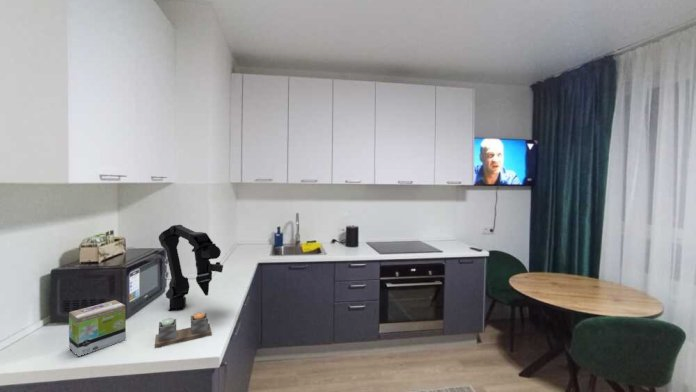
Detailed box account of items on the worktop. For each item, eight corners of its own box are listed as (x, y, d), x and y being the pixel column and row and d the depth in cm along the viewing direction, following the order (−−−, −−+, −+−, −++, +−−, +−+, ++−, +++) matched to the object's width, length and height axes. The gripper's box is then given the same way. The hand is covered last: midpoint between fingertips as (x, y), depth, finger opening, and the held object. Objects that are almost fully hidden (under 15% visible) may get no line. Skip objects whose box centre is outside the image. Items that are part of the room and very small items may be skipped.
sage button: (160, 328, 118) (159, 323, 118) (163, 323, 122) (163, 318, 122) (171, 327, 119) (171, 322, 119) (175, 322, 123) (174, 317, 123)
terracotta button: (192, 321, 124) (192, 317, 124) (194, 317, 128) (194, 312, 128) (203, 320, 125) (203, 315, 125) (205, 316, 129) (205, 311, 129)
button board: (154, 348, 115) (154, 330, 115) (155, 338, 122) (155, 321, 122) (211, 335, 125) (211, 318, 125) (209, 326, 132) (209, 311, 132)
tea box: (78, 358, 108) (77, 318, 107) (68, 350, 113) (67, 311, 113) (126, 340, 121) (125, 304, 120) (115, 333, 126) (115, 298, 125)
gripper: (221, 257, 134) (226, 292, 134) (220, 255, 151) (225, 286, 151) (193, 263, 130) (198, 299, 129) (196, 260, 147) (200, 291, 146)
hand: (207, 293), depth 139 cm, fingers open, 9 cm apart
